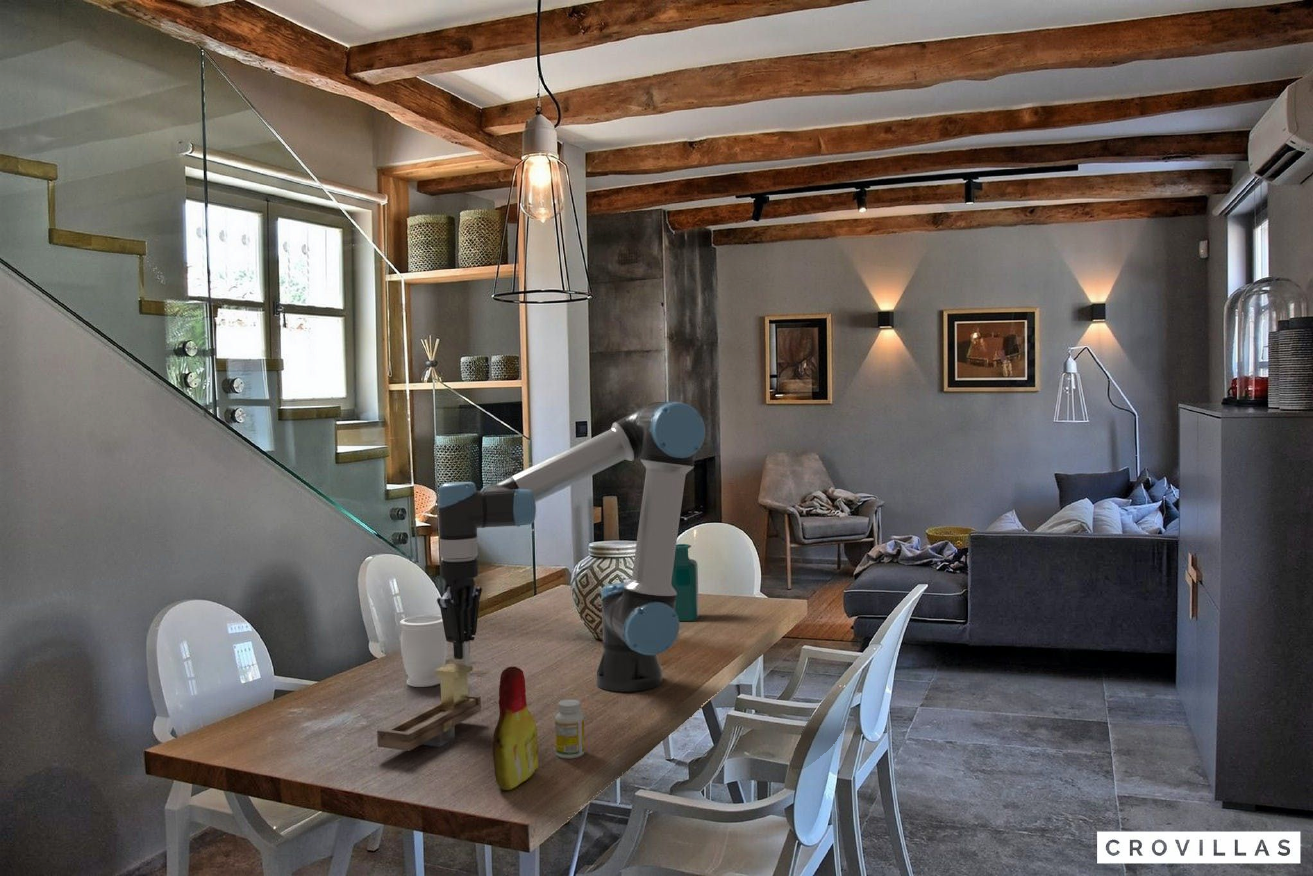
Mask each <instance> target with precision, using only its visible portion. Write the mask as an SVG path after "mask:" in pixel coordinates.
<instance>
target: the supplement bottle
mask: <svg viewBox="0 0 1313 876" xmlns="http://www.w3.org/2000/svg"><path fill="white" fill-rule="evenodd" d="M557 709H558V711H559V712H558V713H556V715H555V718H554V724H555V727H554V728H555V753H556V756H557V757H559V758H561V759H575V758H580V757H582V756H583V755H584V754H585V751H586V750H585V749H586V748H585V744H586V743H585V716H584V714H583V712H582V711H580V710H581V702H580V701H579V700H578V699H571V698H570V699H564V700H560V701H558V708H557Z"/></svg>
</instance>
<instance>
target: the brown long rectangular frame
mask: <svg viewBox="0 0 1313 876" xmlns="http://www.w3.org/2000/svg"><path fill="white" fill-rule="evenodd" d="M481 701H482V700H481V696H480V695H471V694H470V695H469V694H468V700H467V701H465V702H463V703H461V704H459V705H457V706H455V707H454V708H452V709H450V710H448V711H443V710H442V708H441V701H439V702H437V703H435V704H433V705H431V706H428V707H427V708H425V709H423V710H421V711H419V712H417V713H415V714H413V715H412V716H408V717H407V718H405V719H403V720H402V721H400V722H398V723H395V724H393V725H392V726H389V727H388V728H385V729H384V728H379V729H378V730H376V736H377V737H376V739H377V747H379V748H384V749H385V748H386V749H393V750H399V751H405V752H407V751H408V752H410V751H412V750H413V749H415V748H417V747H419V746H421V745H424V746H430V747H440V748H441V747H443V746H445V745H446V744H447V743H449V742H451V741H453V740H454V739H456V732H455V731H456V729H455V727H456V725H459V724H460V723H462V722H464V721H466V720H467V719H469V718H471V717H472V716H475V715H477V714H478V713H480V712H481V711H482V704H481V703H482V702H481Z"/></svg>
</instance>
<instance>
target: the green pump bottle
mask: <svg viewBox="0 0 1313 876" xmlns="http://www.w3.org/2000/svg"><path fill="white" fill-rule="evenodd" d="M691 547H692V545H691V544H687V543H680V544H679V543H678V544H677V543H676V550H675V558H674V565H673V573H672V580H671V585H672V587H673V588H674V589H675V591H676V592H677V596H676V604H675V612H676V614H677V616H678V619H679V622H695V621H697V620H698V618H699V615H700V608H699V605H700V603H699V601H700V600H699V570H698V569H699V567H698V566H699V565H698V562H697V561H696V560H695V559H692V558H690V557H689V549H690V548H691Z"/></svg>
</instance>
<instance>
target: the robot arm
mask: <svg viewBox="0 0 1313 876" xmlns="http://www.w3.org/2000/svg"><path fill="white" fill-rule="evenodd" d="M704 422H705V421H704V419H703V418H702V416H701V414H700V413H699V412H698V410H697V409H696V408H694V407H692V406H691V405H689V404H687V403H684V402H680V401H670V400H669V401H665V402H664V401H656V402H652V403H649V404H646V405H644V406H642V407H640V408H638V409H637V410H636V411H633V412H632V413H630V414H629V415H626V416H625V417H623V418H620V419H619V420H617V421H615V422H613V423H612V425H611V427H610V429H608V430H606V431H604V432H601V433H600V434H598V435H596V436H594V437H591V438H589V439H587V440H585V441H583V442H580V443H579V444H577V445H574V446H572V447H570V448H568V449H566V450H564V451H562V452H560V453H558V454H555V455H553V456H551V457H549V458H548V459H547V458H546V459H545V460H543V461H541V462H539V463H536V464H534V465H533V466H530V467H528V468H526V469H524V470H522V471H520V472H518V473H516V474H514V475H511V476H510V477H508V478H505V479H503V480H501V481H499V482H494V483H489V484H487V485H486V486H483V487H482V488H481V490H478V489H477V487H476V483H474V482H472V481H451V482H445V483H442V484H441V485H440V486H439V488H438V505H437V507H438V511H437V512H438V531H439V533H438V535H439V556H440V558H441V561H440V563H439V564H440V565H439V566H440V577H441V579H442V580H444V581H445V585H444V589H443V591H444V594H443V596H441V597H439V596H438V597H437V599H436V603H437V605H438V607H439V609H440V614H441V615H440V616H442V621H443V626H444V632H445V637H446V641H447V643H452V645H453V659H454V661H453V662H454V663H453V664H458V665H469V666H471V661H470V660H471V658H470V657H471V656H470V653H471V650H470V649H471V646H470V645H471V644H470V643H471V642H470V641H472V642H474V640H475V639H476V638H475V636H476V635H477V629H478V618H479V607H480V598H481V595H482V593H483V589H482V588H483V587H482V586H481V587H479V586H477V585H476V581H475V578H477V577H478V576H479V561H478V559H477V558H476V557H477V556H478V555H479V552H478V551H479V550H478V549H479V548H478V547H479V546H478V545H479V544H478V533H477V532H478V529H484V528H496V527H497V528H498V527H499V528H500V527H502V528H503V527H522V526H528V525H530V526H531V525H532V524H533V523H534V522H535V519H536V516H537V515H536V514H537V513H536V512H537V506H536V505H537V504H536V503H537V502H539V501H543V500H544V499H546V498H548V497H549V496H553V495H554V494H556V493H558V492H561V491H563V490H565V489H567V488H568V487H570V486H573V485H575V484H577V483H579V482H581V481H583V480H586V479H587V478H589V477H591V476H593V475H596V474H598V473H600V472H601V471H604V470H606V469H607V468H610V467H612V466H614V465H616V464H618V463H620V462H622V461H624V460H627V461H630V462H633V461H635V460H637V459H639V458H640V462H641V463H642V465H643V466H644V468H645V475H644V476H645V477H644V484H643V492H642V499H641V506H640V512H639V513H640V515H639V522H638V529H637V535H636V536H637V538H636V544H635V550H634V551H635V552H634V559H633V567H632V573H631V579H630V580H629V581H627V582H616V583H610V584H609V583H608V584H606V585H604V586H603V587H602V589H601V598H600V601H601V622H602V623H601V625H602V653H601V657H600V660H599V664H598V667H597V671H596V673H595V674H596V677H595V679H596V686H597V687H598V688H601V689H603V690H607V691H611V692H612V691H614V692H640V691H641V692H642V691H647V690H651V689H655V688H657V687H658V686H660V685H661V684H663V670H662V668H661V665H660V663H659V660H658V656H657V655H660V654H663V653H664V652H667V651H668V650H669V649H670V648H671V647H672V646H673V644H675V642H676V641H677V638H678V636H679V632H680V626H681V625H680V621H679V619H678V616H677V614H676V612H675V604H676V596H677V592H676V591H675V589H674V588H673V587H672V585H671V580H672V573H673V565H674V558H675V550H676V545H677V541H678V535H679V525H680V519H681V510H682V505H683V504H682V503H683V498H684V497H683V496H684V491H685V490H684V489H685V481H686V475H687V474H688V473H689V472H690V471H692V470H693V469H694V467H695V459H696V453H697V452H698V451H700V449H701V447H702V445H704V442H705V438H706V425H705V423H704ZM470 673H471V672H469V673H467V675H469V674H470Z"/></svg>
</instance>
